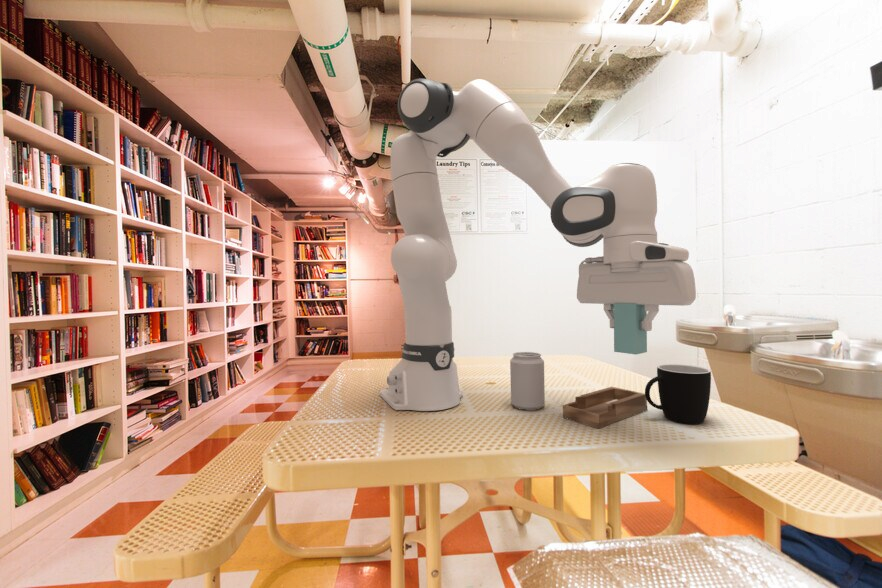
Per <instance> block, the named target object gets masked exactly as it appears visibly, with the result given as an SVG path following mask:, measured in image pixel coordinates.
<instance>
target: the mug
mask: <svg viewBox="0 0 882 588" xmlns="http://www.w3.org/2000/svg"><path fill="white" fill-rule="evenodd" d="M656 375H657V376H655V377H652V379H650V380H649V381H648V382H647V383H646V385H645V389H644V394H645V396H646V399H647V403H648V404H649V405H650V406H652V407H653V408H655V409H657V410H661V411H662V413H663V415H664V417H665V419H667V420H670V421H672V422H675V423H679V424H685V425H699V424H702V423H704V421H705V420H706V417H707V415H708V410H709V407H710V406H709V404H710V397H711V387H712V386H711V385H712V373H711V370H710V369H709V368H706V367H702V366H697V365H692V364H679V363H678V364H677V363H665V364H664V363H663V364H659V365H657V367H656ZM656 383H657V388H658V389H657V390H658V396H659V400H660V401H659V402H660V404H656V403H655V402H654V401H653V399H652V398H651V395H650V394H651V393H650V392H651V388H652V387H653V385H654V384H656Z"/></svg>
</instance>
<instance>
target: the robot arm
mask: <svg viewBox="0 0 882 588" xmlns="http://www.w3.org/2000/svg"><path fill="white" fill-rule="evenodd" d="M397 113H398V115H399V117H400V119H401V121H402V123H403V124H404V125H405V126H406V127H407V129H408V132H407V133H406V132H405V133H403V134H400V135H399V136H397V137H396V138H395V139H394V140H393V141H392V144H391V147H390V177H391V184H392V189H393V190H392V192H393V197H394V204H395V205H394V206H395V211H396V217H397V219H398V221H399V223H400V225H401V227H402V230H403V233H404V236H403V237H401V238H400V239H399V240H398V241H396V242H395V244H394V246H393V248H392V250H391V254H390V263H391V266H392V268H393V270H394V272H395V273H396V276H397V279H398V284H399V288H400V294H401V299H402V303H403V308H404V310H403V311H404V332H405V334H404V335H405V341H404V343H403V344H401V347H402V348H401V350H402V351H401V355H400V356H401V359H400V360H399V361H398V362H397V364H396V365H395V366H394V367H393V368H392V369H391V370H390V371H389V374H388V376H387V377H386V383H387V386H388V387H386V388H383V389H381V390H380V391H379V396H380V397H381V398H382V399H383V400H384V401H385V402H386V403H387V404H388V405H389V406H390V407H391V408H392V409H393V410H396V411H406V410H407V411H418V412H430V411H431V412H432V411H433V412H434V411H442V410H449V409H451V408H453V407H454V408H455V407H457V406H458V405H459V404H460V403H461V398H462V397H463V391H461V390H460V383H459V374H458V367H457V364H456V362H455V361H454V359H453V358H455V344H454V341H453V323H452V322H453V321H452V319H453V318H452V306H451V305H450V302H449V301H450V300H449V296H448V295H449V294H448V291H447V284H446V282H447V281H448V280H450V279H451V278H452V277H453V275H454V274H455V273H456V271H457V270H456V269H457V267H458V259H457V256H456V253H455V251H454V246H453V241H452V238H451V233H450V229H449V225H448V224H447V220H446V216H445V211H444V207H443V201H442V200H443V199H442V194H441V189H440V183H439V176H438V169H437V162H436V161H437V157H438V158H445V157H447V156H448V155H450V154H451V153H453V152H455V151H458V150H460V149H462V148H463V147H464V146H465V145H466V144H467V143H468V141H470V139H472V140H473V142H474V143H475V144H476V145H477V146H478V148H480V149H481V151H483V153H484V154H485V155H487V157H489V158H490V159H491V160H493V161H494V162H496V164H497V165H499V166H501V167H502V168H504V169H505V170H507V171H508V172H509V173H511V174H513V175H514V176H515V177H517V178H518V179H520V180H521V181H523V183H525V184H527V186H528V187H530V188H531V189H532V190H533V192H534V193H536V194H537V196H538V197H539V198H540V199H541V200H542V201H543V203H544V205H546V206H547V207H548V208H549V209H550V220H551V223H552V225H553V227H554V228H555V229H556V231H557V232H558V233H559V234H560V235H561V236H562V237H563V239H564V240H565V242H567V243H568V244H570V245H572V246H575V247H578V248H586V247H590V246H591V247H592V246H594V245H597V244H598V243H599V242H600V241H601V240H602V241H603V249H602V250H603V255H601V256H596V257H586V258H585V259H584V260H582V261H581V262H580V263H579V265H578V280H577V288H576V299H577V300H578V302H579V303H580V304H590V305H591V304H592V305H593V304H597V305H598V304H600V305H601V304H602V305H603V311H604V313H605V314H606V316H607V318H608V320H609V328H610V329H614V303H635V304H637V305H645V311H647V315H646V317H645V319H644V320H641V321H639V325H640V326H639V330H642V331H647V332H650V331H652V328H653V320H654V319H655V317H657V314H658V313H659V312H660V309H659V307H660V306H681V307H682V306H690V305H692V304H693V303H694V301H695V300H696V298H697V297H696V294H697V292H696V290H697V289H696V280H695V274H694V271H693V268H692V266H691V265H690V264H689V263H687V262H686V261H687V260H689V257H690V256H689V255H690V253H689V250H688V249H686V248H684V247H679V246H674V245H669V244H667V243H661V242H658V232H657V229H656V225H655V221H656V217H657V213H658V198H657V197H658V195H657V193H658V192H657V185H656V179H655V176H654V174H653V172H652V170H651V169H650V168H648V167H647V166H645V165H642V164H639V163H631V162H624V163H623V162H621V163H617V164H614V165H611V166H609V167H607V169H605V170H604V172H602V173H600V175H598V176H596V177H594V178H593V179H591V180H589V181H587V182H585V183H582V184H581V185H578V186H574V187H572V185H571V184H570V183H568V181H567V180H566V179H565V178H564V176H563V175H561V173H559V172H558V170H557V169H556V168H555V167H554V166H553V163H552V162H551V160H550V159H549V157H548V156H547V154H546V151H545V150H544V147H543V145H542V143H541V141H540V138H539V136H538V134H537V131H536V129H535V127H534V126H533V124H532V122H531V121H530V120H529V118H528V116H527V115H526V114H525V113H524V110H522V108H521V107H520V106H519V105H518V104H517V102H515V101H514V100H513V99H512V98H511V97H510V96H509V95H508V94H506V93H505V92H504V91H503V90H502V89H500V88H499V87H497V86H496V85H495V84H493V83H492V82H490V81H488V80H486V79H483V78H477V79H476V78H475V79H474V80H473V79H472V80H471V81H469V82H467V83H466V84H465V85H463V87H462V88H461V89H460V90H459V91H458V90H457V91H454V90H453V87H451V85H450V84H449V83H447V82H446V83H445V82H440V81H435V80H431V79H427V78H420V77H419V78H415V79H413V80H410V81H409V82H408V83H407V84H406V85H405V86H404V87H403V88H402V90H401V91H400V94H399V97H398V99H397Z"/></svg>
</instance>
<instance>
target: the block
mask: <svg viewBox="0 0 882 588" xmlns="http://www.w3.org/2000/svg"><path fill="white" fill-rule="evenodd" d="M647 313H648V311H645V305H637V304H635V303H614V328H613V352H614V353H621V354H628V355H635V356H636V355H640V354H646V353H647V352H648V331H642V330H639V326H640V325H639V321H641V320H644V319H645V317H646V315H647Z"/></svg>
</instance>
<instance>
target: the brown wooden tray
mask: <svg viewBox="0 0 882 588" xmlns="http://www.w3.org/2000/svg"><path fill="white" fill-rule="evenodd" d="M574 400H575V401H572V402H569V403H565V404H563V405H562V418H563V417H566V418H568V419H567V420H569V419H571V420H570V421H572V420H574V421H573V422H575V423H576V422H577V423H579V424H582V425H585V426H588V427H591V428H595V429H597V430H600V429H602V428H605V427H607V426H610V425H613V424H615V423H617V421H618V422H620V421H623V420H625V418H626V419H628V418H631V417H633V416H636V415H639V414H641V413H643V411H644V412H646V410H647V411H648V401H647V399H646V396H645V392H644V393H643V392H638V391H635V390H629V389H625V388H619V387H615V386H609V387H606V388H602V389H599V390H594V391H591V392H588V393H584V394H580V396H575V399H574ZM638 413H639V414H638ZM635 414H636V415H635ZM632 415H633V416H632ZM630 416H631V417H630ZM566 418H565V419H566Z"/></svg>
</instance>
